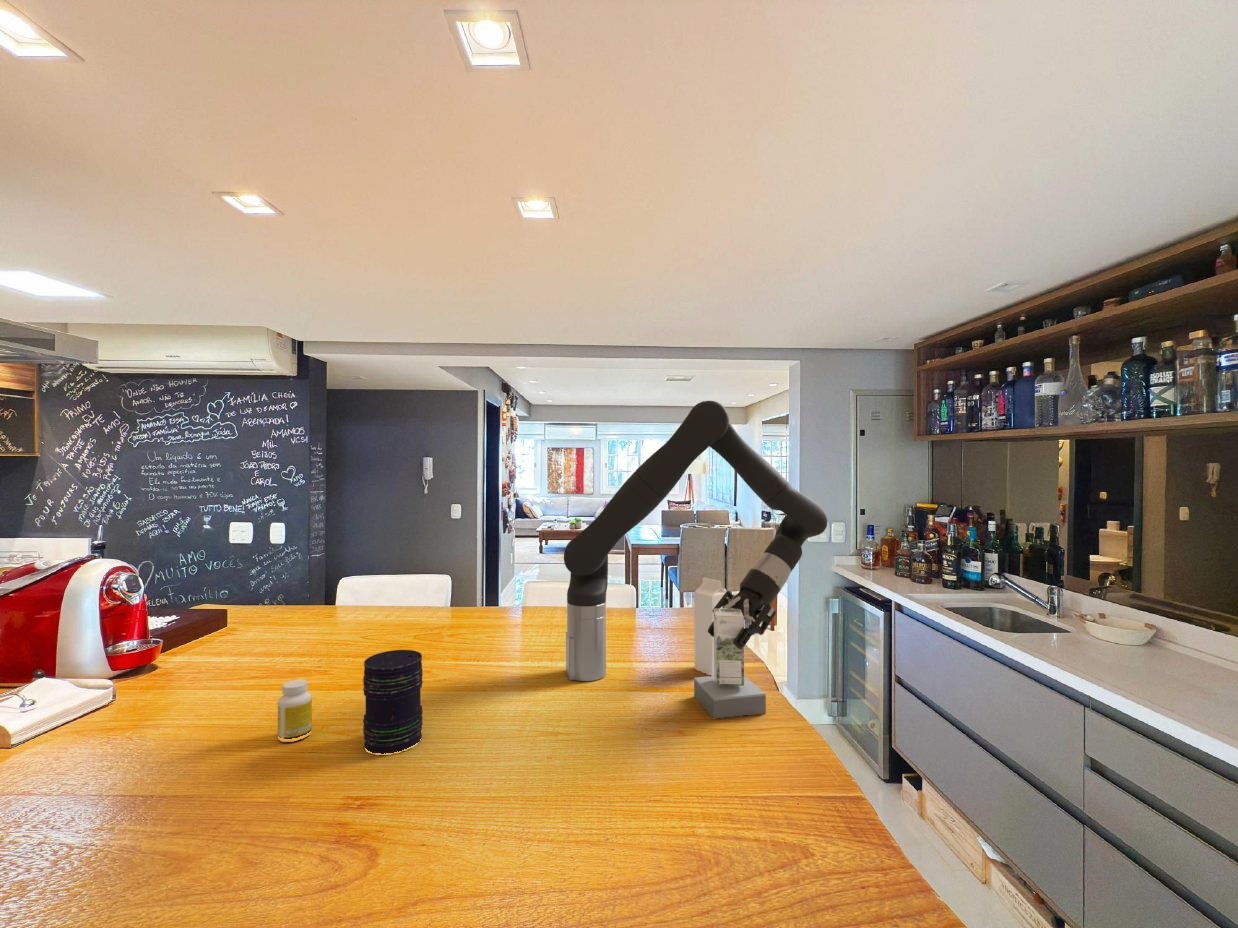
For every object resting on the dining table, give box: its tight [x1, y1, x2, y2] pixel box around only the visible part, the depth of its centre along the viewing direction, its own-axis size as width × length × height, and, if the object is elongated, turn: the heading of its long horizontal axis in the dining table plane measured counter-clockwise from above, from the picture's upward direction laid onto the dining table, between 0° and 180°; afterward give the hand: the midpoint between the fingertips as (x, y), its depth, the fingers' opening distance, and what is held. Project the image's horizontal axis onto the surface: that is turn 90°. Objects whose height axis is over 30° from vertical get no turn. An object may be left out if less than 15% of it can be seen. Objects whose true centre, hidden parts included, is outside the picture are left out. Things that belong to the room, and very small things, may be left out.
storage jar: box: [362, 649, 424, 754], centre depth 99 cm, size 10×10×15 cm
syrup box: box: [714, 608, 745, 686], centre depth 115 cm, size 6×6×14 cm
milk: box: [693, 577, 728, 676], centre depth 134 cm, size 6×6×22 cm
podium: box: [693, 675, 767, 720], centre depth 114 cm, size 11×11×4 cm
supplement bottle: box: [277, 679, 313, 739], centre depth 101 cm, size 5×5×10 cm
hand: (723, 640), depth 114 cm, fingers open, 8 cm apart
